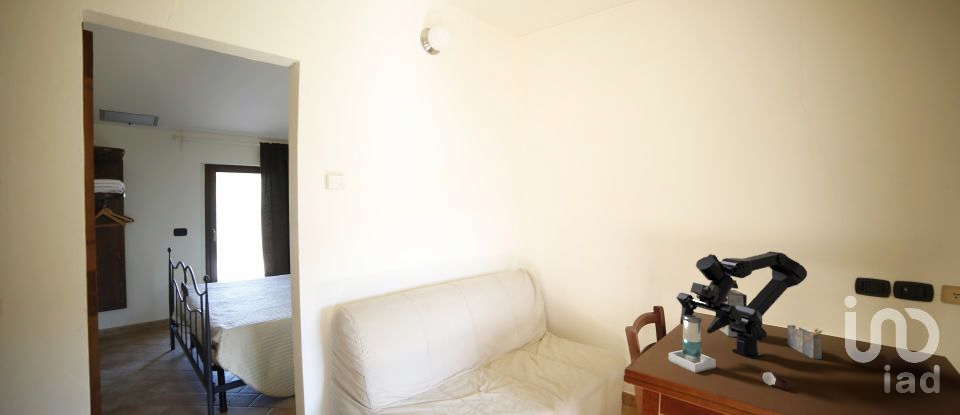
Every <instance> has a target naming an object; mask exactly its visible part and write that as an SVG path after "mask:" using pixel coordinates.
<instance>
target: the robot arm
mask: <svg viewBox="0 0 960 415" xmlns="http://www.w3.org/2000/svg"><path fill="white" fill-rule="evenodd" d="M695 267H696V268H697V270H699V272H700V273H701V274H702V275H703V277H704V278H705V279H706V280H707V281H710V283H708V285H706V284H701V283H699V282H692V285H691V288H690V291H689V292H690V293H693V294H695V295H696V296H695V297H696V298H697V299H698V300H696V299H695V298H694V297H693V295H692V294H689V293H686V292H685V293H684V292H679V293H678V294H677V296H676V297H675V298H676V299H677V301H678V302H679V303H680V305H681V315H680V318H679V321H680V322H679V323H680V324H681V325H683V315H694V314H695V311H694V310H696V309H698V308H700V309H703V310H708V311H712V312H715V316H714V318H713V319H712V321H711V323H710V324H709V326H708V328H707V330H706V332H707V334H709V335H711V334H712V333H714V332H716V331H718V330H719V329H720V328H722V327H725V326H727V325H730V329H731V332H734V333H737V334H738V335H737V337H736V348H734V349H733V348H732V349H731V351H732V352H734V353H737V354H738V355H741V356H744V357H747V358H750V359H754V358H755V359H756V358H759V357H763V356H764V353H762V352H759V342H760V341H764V340H765V339H767V334H768V333H767V331H766V330H765V329H764V328H763V327H762V326H763V317H764V315H765V313H767V312H768V310H769V309H770V308H772V306H773V305H774V304H775V302H777V300H778V299H779V298H780V297H781V296H782V295H783V294H784V292H785V291H787V289H789V288H792V287H795V286H798V285H799V284H801V283H802V282H803V281H804V280H805V279H806V278H807V276H808V271H807V270H806V268H805V267H804V266H803V265H802V264H801V263H800V262H798V261H796V260H795V259H792V258H790V257H789V256H787V255H786V254H785V253H783V252H777V251H767V252H766V253H761V254H757V255H752V256H749V257H745V258H744V257H743V258H739V257H738V258H737V257H725V258H723V259H722V260H721V261H720V260H719V259H718V257H717V256H716V255H715V254H710V253H709V254H708V255H707V256H704V257H701V258H700V259H698V260H697V261H696V263H695ZM765 268H769V269H770V270H771V279H770V280H769V282H767V283H766V285H765V286H764V287H763V288H762V289H761V290H760V291H759V292H758V293H757V294H756V295H755V296H754V298H752V300H750V302H749V303H748V304H747V306H741V305H737V306H736V307H735V306H732V305H728V304H724V303H723V301H724V302H727V300H728V299H727V298H726V297H727V295H728V293H729V292H730V290H732V289H734V290H735V289H736V290H738V289H739V285H738V283H737V279H736V280H735V279H733V278H732V277H734V278H739V279H744V278H746V277H748V276H751V275H752V273H753V272H754V271H757V270H761V269H765Z"/></svg>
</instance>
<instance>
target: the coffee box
mask: <svg viewBox="0 0 960 415" xmlns="http://www.w3.org/2000/svg"><path fill="white" fill-rule="evenodd" d="M726 298H727V299H728V300H727V302H724V301H723V303H724V304H728V305H732V306H735V307H736V306H737V305H741V306H747V305H748V304H747V302H748V301H747V300H748V295H747V294H744V293H743V292H740V291H738V290H737V289H736V290H735V289H731V290H730V292H729V293H728V295H727V297H726ZM718 330H719V331H720V332H722V333H724V335H726V336H728V337H736V338H737V335H738V334H737V333H734V332H731V329H730V325H727V326H725V327H722V328H720V329H718Z"/></svg>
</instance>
